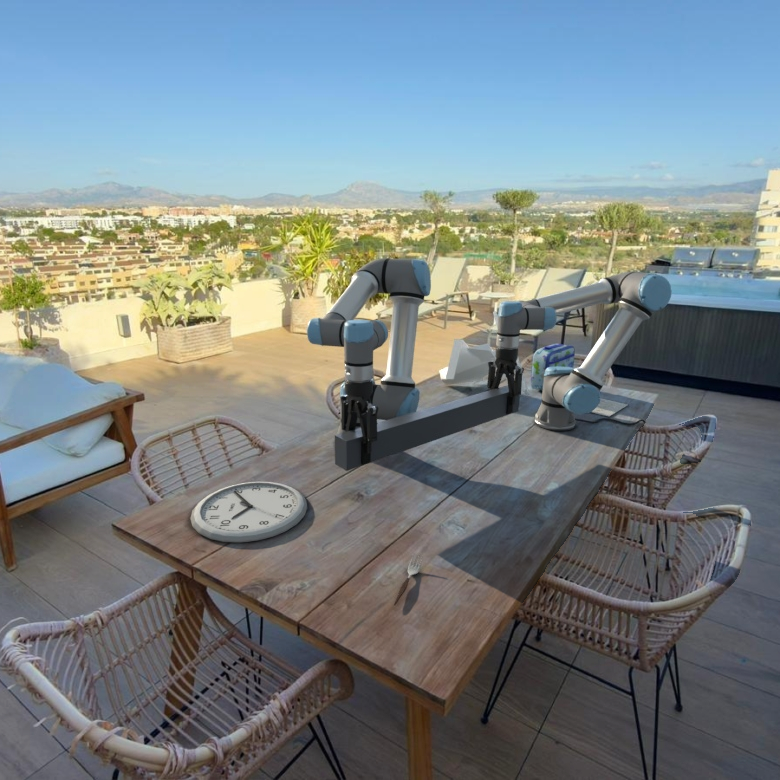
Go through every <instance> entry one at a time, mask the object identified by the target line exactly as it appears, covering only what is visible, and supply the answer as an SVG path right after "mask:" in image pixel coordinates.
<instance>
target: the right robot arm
mask: <svg viewBox="0 0 780 780" xmlns="http://www.w3.org/2000/svg"><path fill="white" fill-rule="evenodd" d="M671 297H672V286H671V283H670V281H669V280H668V279H667V278H666V277H665V276H663V275H660V274H657V273H655V272H654V273H653V272H652V273H649V272H641V271H635V270H634V271H633V270H631V271H625V272H622V273H619V274H615V275H614V274H613V275H610V276H607V277H604V278H601V279H599V281H598V282H595V283H591V284H588V285H583V286H580V287H576V288H572V289H568V290H564V291H561V292H557V293H553V294H549V295H545V296H542V297H541V296H540V297H538V298H534V299H530V300H504V301H501V302H500V303H499V307H498V312H497V314H498V328H497V329H496V330H497V331H496V341H495V342H496V343H495V345H496V347H495V350H496V354H495V357H496V360H495V361H490V362H488V365H489V373H488V374H487V383H486V388H487V389H488V390H493V389H496V388H500V384H501V382H502V378H503V375H504V376H505V375H506V377H507V380H506V383H507V382H508V384H507V385H508V388H509V396H507V407H506V414H509V415H511V414H510V413H512V412H513V405H514V404H515V397H516V396H518V395H520V396H521V395H522V374H523V375H524V371H525V368H524V367H522V366H521V368H520V367H519V366H517V362H516V361H517V358H518V359H519V346H520V334H521V331H531V330H532V331H533V330H535V331H539V330H540V331H546V330H552V329H553V328H555V326H556V324H557V319H558V318H557V315H561V314H565V313H569V312H573V311H577V310H581V309H585V308H589V307H592V306H597V305H600V304H603V305H606V306H607V305H611V304H618V310H617V311H616V312H615V314H614V315H613V317H612V319H611V320H610V322H609V323H608V325H607V326H606V328H605V329H604V330H603V332H602V333H601V335H600V337H599V338H598V340H597V341H596V342H595V344H594V346H593V347H592V348H591V350H590V352H589V353H588V354H587V356H586V357H585V358H584V361H583V362H582V364H580V366H578V367H573V368H572V367H548V368H546V370H545V374H544V381H543V390H541V391H542V394H541V402H540V405H539V407H538V410H537V411H536V413H535V415H534V416H535V417H534V424H535V425H536V426H537V427H539V428H542V429H544V430H549V431H556V432H567V431H572V430H574V429H575V428H576V421H577V422H583V423H587V424H596V423H598V422H600V421H610V422H611V421H612V422H615V423H618V424H621V425H626V426H634V425H637V424H638V423H640V422H643V423H645V424H646V423H647V421H645V420H644V419H639V420H637V421H634V422H624V421H621V420H617V419H614V418H610V417H601V418H598V419H597V420H593V421H591V420H586V419H581V418H575V417H576V416H575V415H581V416H582V415H587V414H590V413H592V412H591V411H593V410H594V409H595V408H596V407H597V406H598V404H599V402H600V398H601V393H600V392H601V390H602V388H603V387H604V383H603V379H604V378H605V376H606V375H607V373H608V372H609V370H610V369H611V367H612V366H613V364H614V363H615V362H616V360H617V358H618V357H619V355H620V354H621V353H622V352H623V350H624V348H625V347H626V346H627V343H628V342H629V341H630V339H631V338H632V337H633V335H634V333H635V332H636V331H637V329H638V328H639V326H640V325H641V323H642V322H644V321H645V320H649V319H650V318H651V316H653V314H654V312H656V311H660V310H662V309H664V308H665V307H666V306H667V305H668V304H669V302H670V301H671ZM496 366H497V368H496ZM506 377H505V378H506ZM512 414H513V413H512Z"/></svg>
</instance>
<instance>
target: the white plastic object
mask: <svg viewBox="0 0 780 780" xmlns="http://www.w3.org/2000/svg"><path fill="white" fill-rule="evenodd" d="M492 315H493V319H494V321H495V324H496V325H495V326H496V328H497V329H498V312H497V311H496V310H495V311H492ZM495 354H496V349H493V348H492V347H491V346H490V344H489V343H488V342H487V343H483V344H479V345H473V346H469V345H468V343H466V342H465V340H464V339H463V338H460V339H458V338H454V340H453V344H452V349H451V353H450V357H449V362H448V366H446V367H444V368H442V369H440V370H439V371H438V372H439V376H440V381H442V383H443V384H444V385H445V386H449V385H458V384H467V383H468V384H469V383H473V384H477V383H480V382H482V381H484V378H485V377H486V376H488V373H489V365H488V362H490V361H495V360H496V357H495ZM516 362H517V366H519V367H520V368H522V366H521V362H520V359H519V357H518V358H517V361H516ZM496 369H497V366H496ZM504 376H505V380H506V383H507V384H506V385H508V382H507V377H506V375H505V374H504ZM528 387H529V386H528V384H527V381H526V378H525V375H524V373H523V374H522V387H521V390H522V391H523V393H524V395H525V396H526V397H528V396H531V395H530V390H529V388H528Z"/></svg>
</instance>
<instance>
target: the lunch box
mask: <svg viewBox="0 0 780 780" xmlns="http://www.w3.org/2000/svg"><path fill="white" fill-rule="evenodd" d="M575 352H576V351H575V346H573V345H568V344H562V343H553V344H550V345H547V346H546V345H545V346H544V347H541V348H538V349H537V350H536V351H535V352H534V354H533V357H532V362H531V371H530V372H531V374H530V387H531V389H533V390H539V391H543V381H544V374H545V370H546V368H548V367H572V368H574V363H575Z"/></svg>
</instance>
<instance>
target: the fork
mask: <svg viewBox="0 0 780 780" xmlns="http://www.w3.org/2000/svg"><path fill="white" fill-rule="evenodd" d="M414 555H415V553H413V554H412V557H411V559H410V562H409V565H408V567H407V573H408V576H407V578H406V579H405V580H404V582H403V583H402V584H401V586H400V587H399V591H398V593H397V596H396V598H395V601H394V604H393V606H396V604H397V603H398V602H399V600H400V599H401V598H402V596H403V594H404V593H405V591H406V590H407V588H408V585H409V582H410V579H411V577H412V576H414V575H417V574H418V573H419V572H420V570H421V565H422V561H423V557H424V556H423V555H422V556H421V555H417V554H416V555H415V557H414ZM417 556H418V558H417ZM420 556H421V557H420ZM420 558H421V559H420ZM413 559H414V560H413ZM416 559H417V560H416ZM419 560H420V562H419ZM415 563H416V564H415Z"/></svg>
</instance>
